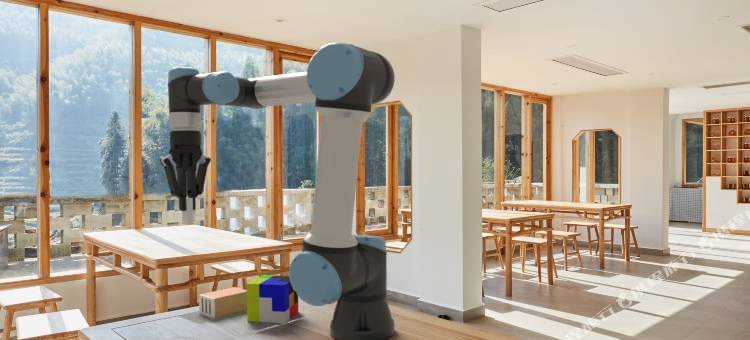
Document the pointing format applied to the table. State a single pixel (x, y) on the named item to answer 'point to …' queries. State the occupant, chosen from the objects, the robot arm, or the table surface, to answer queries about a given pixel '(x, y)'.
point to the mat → (205, 317)
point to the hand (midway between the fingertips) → (187, 223)
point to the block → (223, 302)
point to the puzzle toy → (271, 299)
